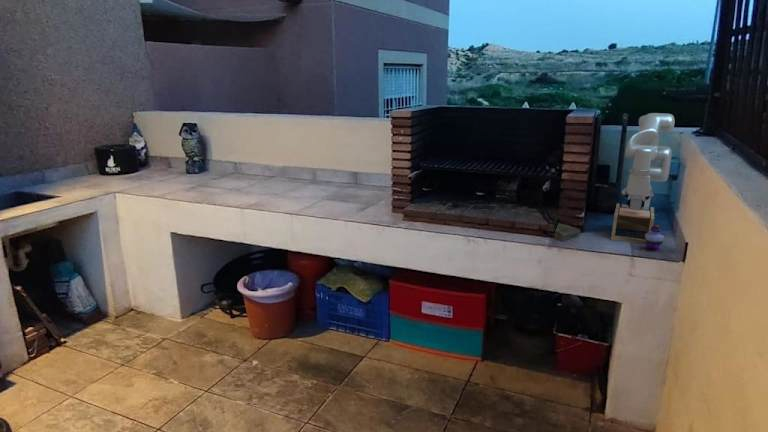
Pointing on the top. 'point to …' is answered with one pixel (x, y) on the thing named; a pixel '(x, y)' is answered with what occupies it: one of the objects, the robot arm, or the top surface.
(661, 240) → the potion bottle
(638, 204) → the cube
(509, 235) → the top surface
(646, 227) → the frame
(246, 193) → the top surface
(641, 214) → the trapdoor
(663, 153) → the robot arm
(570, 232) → the marble piece
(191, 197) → the top surface
